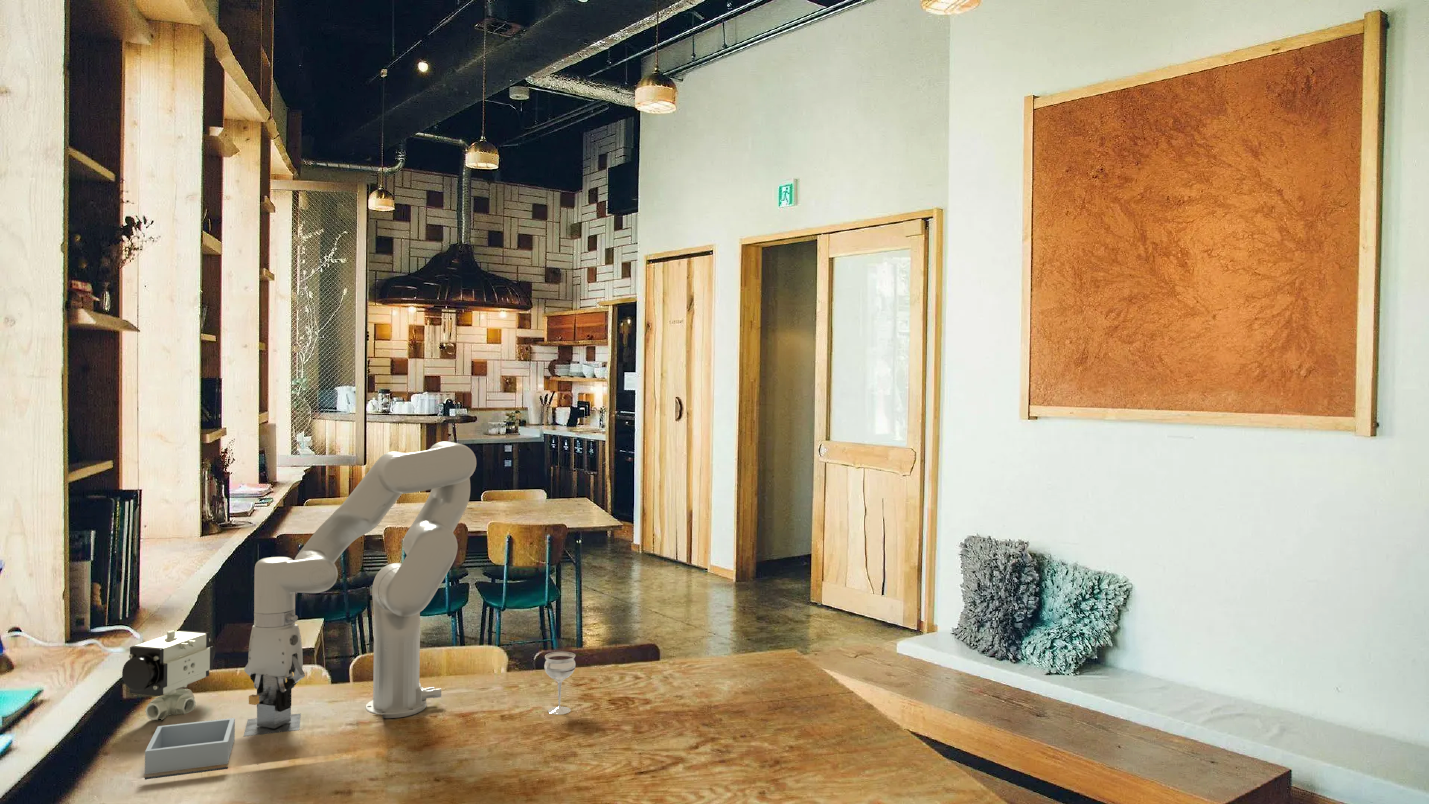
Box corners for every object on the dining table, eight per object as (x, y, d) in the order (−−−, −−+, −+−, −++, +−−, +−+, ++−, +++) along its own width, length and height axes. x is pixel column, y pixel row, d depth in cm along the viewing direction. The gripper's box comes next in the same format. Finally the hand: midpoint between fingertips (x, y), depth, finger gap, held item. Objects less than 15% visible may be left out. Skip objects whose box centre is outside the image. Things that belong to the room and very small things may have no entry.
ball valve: (156, 732, 184) (156, 644, 183) (120, 728, 185) (120, 641, 185) (221, 703, 201) (222, 622, 201) (187, 699, 203) (188, 620, 203)
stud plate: (300, 718, 193) (301, 696, 193) (299, 734, 183) (299, 711, 183) (247, 724, 189) (248, 701, 189) (243, 741, 180) (243, 717, 180)
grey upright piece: (273, 718, 189) (274, 663, 189) (290, 721, 188) (291, 665, 188) (242, 731, 181) (243, 674, 181) (260, 734, 180) (261, 676, 180)
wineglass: (537, 713, 198) (538, 658, 198) (554, 703, 204) (555, 650, 204) (564, 717, 195) (565, 662, 195) (580, 707, 202) (581, 653, 202)
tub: (234, 743, 179) (234, 717, 179) (227, 769, 167) (227, 741, 167) (157, 752, 174) (157, 726, 174) (144, 779, 162) (144, 751, 162)
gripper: (322, 618, 187) (321, 706, 187) (255, 611, 192) (255, 697, 192) (295, 626, 180) (294, 719, 180) (226, 619, 185) (226, 709, 185)
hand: (274, 707), depth 186 cm, fingers closed on grey upright piece, 4 cm apart
